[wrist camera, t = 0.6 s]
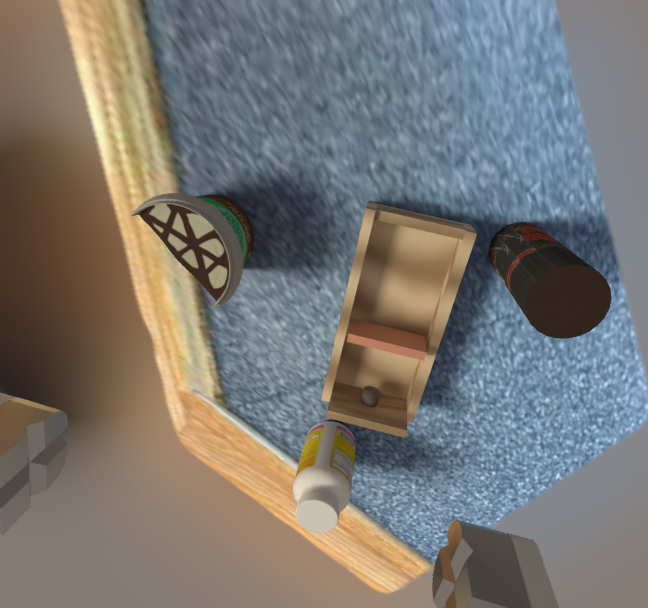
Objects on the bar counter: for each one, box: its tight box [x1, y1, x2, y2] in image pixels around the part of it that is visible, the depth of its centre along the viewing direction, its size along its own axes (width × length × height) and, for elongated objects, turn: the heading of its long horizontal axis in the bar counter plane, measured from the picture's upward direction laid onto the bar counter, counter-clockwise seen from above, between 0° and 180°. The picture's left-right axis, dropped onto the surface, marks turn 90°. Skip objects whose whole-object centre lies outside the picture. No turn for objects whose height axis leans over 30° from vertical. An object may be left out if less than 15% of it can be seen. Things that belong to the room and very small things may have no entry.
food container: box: [132, 193, 254, 307], centre depth 46 cm, size 12×6×10 cm, turn 39°
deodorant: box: [489, 222, 611, 338], centre depth 41 cm, size 6×6×15 cm
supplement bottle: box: [293, 421, 356, 533], centre depth 54 cm, size 7×7×13 cm
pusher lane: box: [321, 202, 477, 438], centre depth 49 cm, size 23×11×7 cm, turn 169°
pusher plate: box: [347, 319, 427, 361], centre depth 50 cm, size 1×8×4 cm, turn 78°
